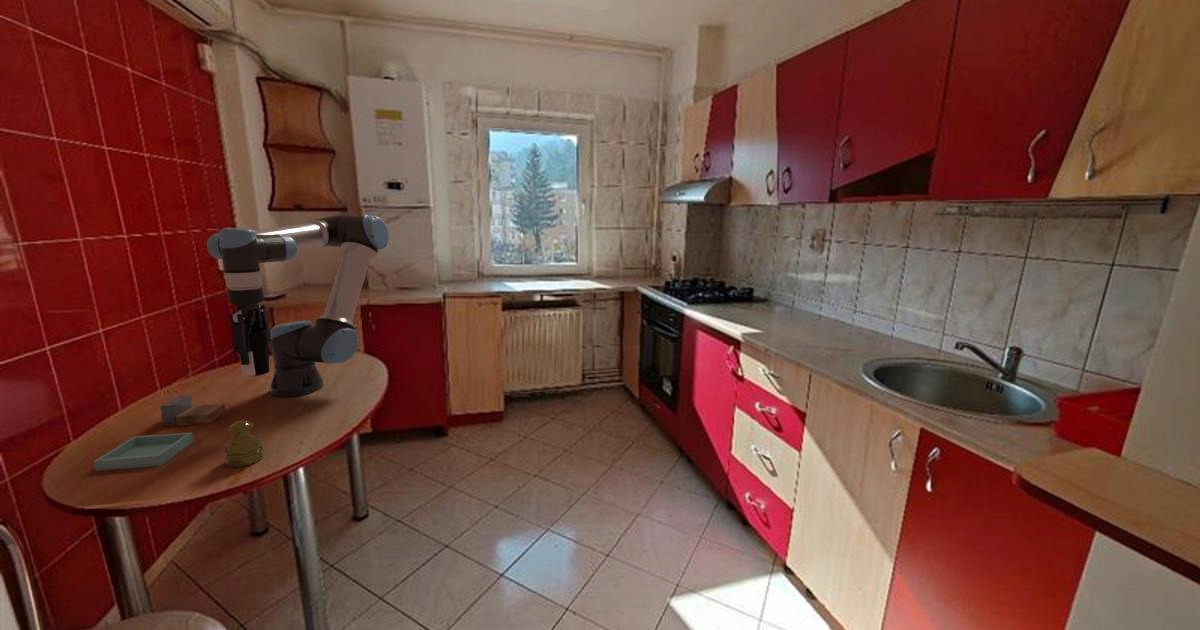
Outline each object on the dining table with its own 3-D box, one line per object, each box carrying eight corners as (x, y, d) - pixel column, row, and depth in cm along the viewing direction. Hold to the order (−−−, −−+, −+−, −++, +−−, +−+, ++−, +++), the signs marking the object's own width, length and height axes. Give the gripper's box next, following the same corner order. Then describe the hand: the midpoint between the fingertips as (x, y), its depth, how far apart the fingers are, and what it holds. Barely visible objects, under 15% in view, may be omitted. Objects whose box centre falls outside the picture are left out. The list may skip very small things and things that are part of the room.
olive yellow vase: (222, 470, 108) (216, 430, 106) (230, 456, 114) (224, 418, 112) (261, 463, 111) (256, 424, 109) (266, 450, 118) (261, 413, 116)
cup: (280, 370, 129) (275, 328, 127) (252, 379, 122) (246, 335, 120) (261, 367, 132) (255, 326, 129) (232, 375, 125) (225, 332, 122)
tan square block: (225, 413, 140) (224, 403, 139) (210, 424, 132) (208, 414, 132) (194, 415, 138) (193, 405, 137) (177, 426, 130) (175, 416, 130)
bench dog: (193, 414, 138) (190, 394, 137) (176, 425, 130) (173, 405, 129) (182, 414, 137) (178, 395, 136) (163, 426, 129) (160, 406, 128)
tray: (193, 441, 121) (192, 432, 121) (160, 465, 109) (158, 456, 109) (136, 445, 118) (134, 436, 118) (95, 471, 106) (93, 461, 106)
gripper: (248, 282, 131) (259, 359, 136) (205, 294, 111) (219, 384, 116) (278, 282, 133) (287, 358, 137) (241, 293, 113) (253, 382, 118)
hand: (256, 370), depth 127 cm, fingers closed on cup, 8 cm apart
